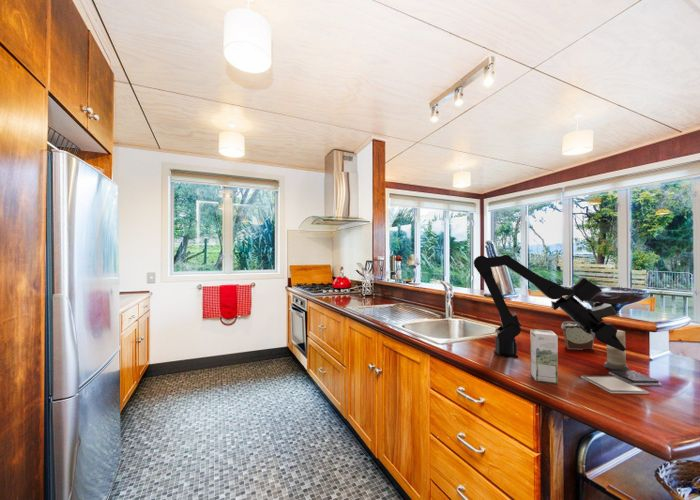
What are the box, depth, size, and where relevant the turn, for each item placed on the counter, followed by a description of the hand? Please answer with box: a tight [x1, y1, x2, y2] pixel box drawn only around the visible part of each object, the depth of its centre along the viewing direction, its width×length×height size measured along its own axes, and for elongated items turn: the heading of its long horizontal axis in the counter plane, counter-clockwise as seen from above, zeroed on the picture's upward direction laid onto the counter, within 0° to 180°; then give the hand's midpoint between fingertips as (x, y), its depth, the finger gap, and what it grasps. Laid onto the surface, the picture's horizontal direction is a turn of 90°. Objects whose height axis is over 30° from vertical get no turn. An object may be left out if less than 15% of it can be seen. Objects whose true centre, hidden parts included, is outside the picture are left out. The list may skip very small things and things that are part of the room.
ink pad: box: [608, 370, 663, 386], centre depth 86 cm, size 8×8×1 cm
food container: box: [560, 321, 595, 350], centre depth 117 cm, size 12×6×10 cm, turn 84°
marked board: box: [580, 375, 650, 395], centre depth 82 cm, size 10×10×1 cm
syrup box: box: [529, 328, 559, 384], centre depth 86 cm, size 6×6×14 cm
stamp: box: [603, 329, 630, 371], centre depth 95 cm, size 6×6×13 cm
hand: (617, 346), depth 94 cm, fingers open, 9 cm apart
